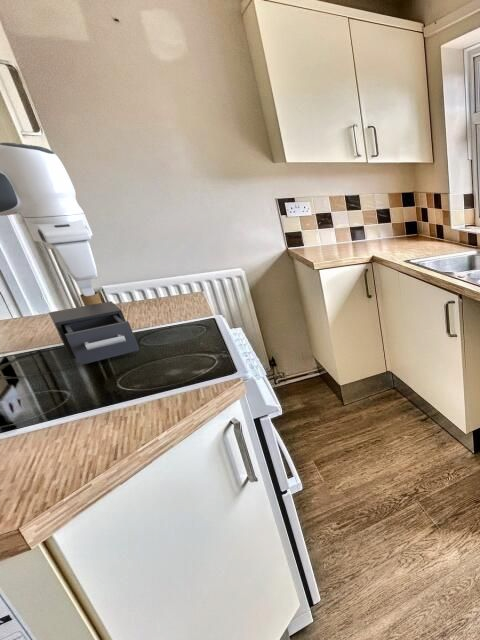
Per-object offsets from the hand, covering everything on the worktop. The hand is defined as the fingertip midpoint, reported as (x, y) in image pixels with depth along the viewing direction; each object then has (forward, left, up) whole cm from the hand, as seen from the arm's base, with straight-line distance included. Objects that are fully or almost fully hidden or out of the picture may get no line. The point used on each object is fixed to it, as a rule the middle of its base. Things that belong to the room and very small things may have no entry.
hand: (88, 294), depth 92 cm
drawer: (0, +14, -18) cm, 22 cm away
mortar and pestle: (+3, +42, -19) cm, 46 cm away
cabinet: (0, +27, -19) cm, 33 cm away
